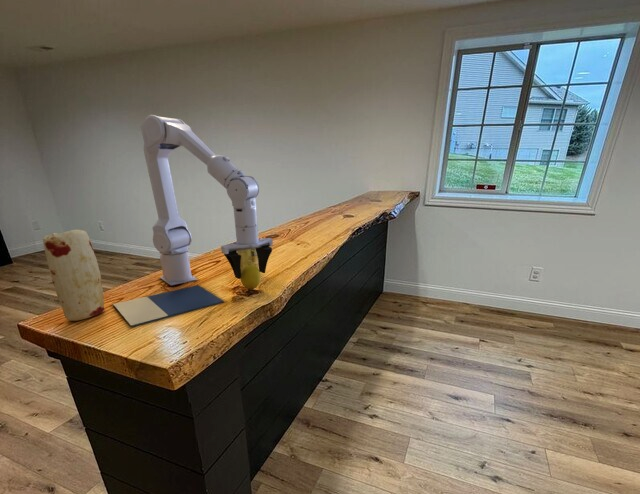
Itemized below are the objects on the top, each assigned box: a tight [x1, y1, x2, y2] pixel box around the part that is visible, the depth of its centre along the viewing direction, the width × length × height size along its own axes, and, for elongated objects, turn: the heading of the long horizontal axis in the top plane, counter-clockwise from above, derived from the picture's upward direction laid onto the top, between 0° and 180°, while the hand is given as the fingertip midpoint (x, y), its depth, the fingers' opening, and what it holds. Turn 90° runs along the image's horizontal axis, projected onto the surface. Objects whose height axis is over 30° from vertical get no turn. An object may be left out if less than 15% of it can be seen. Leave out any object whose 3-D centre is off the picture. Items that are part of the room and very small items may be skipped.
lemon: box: [240, 263, 262, 291], centre depth 96 cm, size 6×6×8 cm
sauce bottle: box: [235, 240, 259, 269], centre depth 109 cm, size 6×6×20 cm
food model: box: [42, 229, 105, 322], centre depth 78 cm, size 10×7×20 cm
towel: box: [112, 284, 225, 328], centre depth 88 cm, size 16×22×1 cm
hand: (250, 275), depth 96 cm, fingers open, 7 cm apart
